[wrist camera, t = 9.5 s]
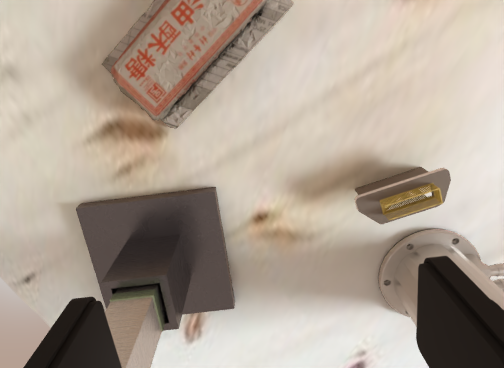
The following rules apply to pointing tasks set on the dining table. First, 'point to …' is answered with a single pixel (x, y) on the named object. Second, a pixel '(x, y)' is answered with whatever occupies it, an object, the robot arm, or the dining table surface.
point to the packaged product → (187, 51)
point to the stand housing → (161, 249)
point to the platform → (402, 194)
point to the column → (136, 323)
